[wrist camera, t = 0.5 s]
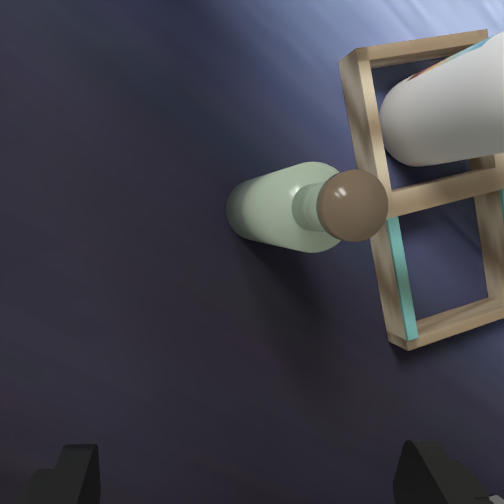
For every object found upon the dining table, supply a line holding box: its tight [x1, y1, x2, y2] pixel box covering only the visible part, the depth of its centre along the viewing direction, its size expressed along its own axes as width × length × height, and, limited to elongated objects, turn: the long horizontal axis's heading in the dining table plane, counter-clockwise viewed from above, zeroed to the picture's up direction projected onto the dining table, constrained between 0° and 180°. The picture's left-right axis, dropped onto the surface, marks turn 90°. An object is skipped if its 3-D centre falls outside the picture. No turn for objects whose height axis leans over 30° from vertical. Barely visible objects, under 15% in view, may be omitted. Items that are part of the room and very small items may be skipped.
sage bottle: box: [226, 162, 388, 253], centre depth 27 cm, size 5×5×17 cm
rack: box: [338, 29, 504, 351], centre depth 38 cm, size 25×12×3 cm, turn 13°
